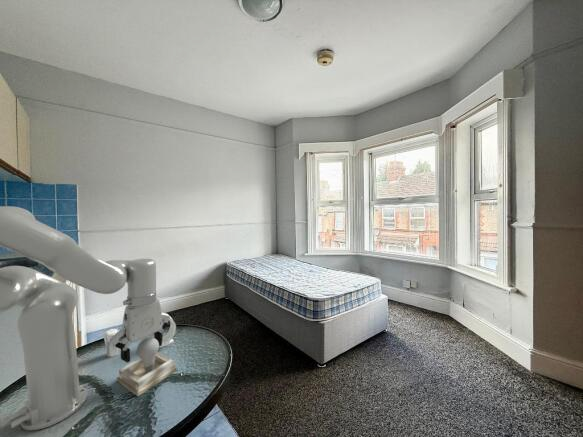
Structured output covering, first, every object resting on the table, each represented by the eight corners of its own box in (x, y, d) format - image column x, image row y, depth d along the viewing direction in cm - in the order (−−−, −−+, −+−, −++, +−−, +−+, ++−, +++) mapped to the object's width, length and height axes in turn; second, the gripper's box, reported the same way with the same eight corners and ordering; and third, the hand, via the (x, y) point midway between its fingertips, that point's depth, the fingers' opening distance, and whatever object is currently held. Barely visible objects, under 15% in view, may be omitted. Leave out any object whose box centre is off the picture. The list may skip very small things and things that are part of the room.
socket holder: (137, 396, 67) (137, 384, 67) (116, 381, 73) (116, 370, 73) (176, 370, 78) (176, 360, 77) (155, 358, 84) (154, 349, 83)
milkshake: (114, 359, 84) (112, 331, 83) (101, 357, 85) (99, 330, 84) (125, 351, 88) (123, 325, 87) (113, 349, 89) (111, 324, 88)
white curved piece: (156, 342, 93) (155, 313, 92) (173, 337, 97) (171, 308, 96) (159, 348, 90) (158, 317, 89) (176, 341, 94) (175, 312, 93)
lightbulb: (148, 380, 72) (146, 345, 71) (133, 376, 74) (131, 342, 73) (164, 367, 78) (162, 334, 77) (150, 363, 79) (148, 332, 79)
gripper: (116, 312, 64) (117, 373, 65) (175, 292, 79) (175, 342, 80) (103, 306, 68) (104, 363, 69) (162, 288, 83) (162, 336, 84)
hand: (143, 352), depth 74 cm, fingers open, 9 cm apart
